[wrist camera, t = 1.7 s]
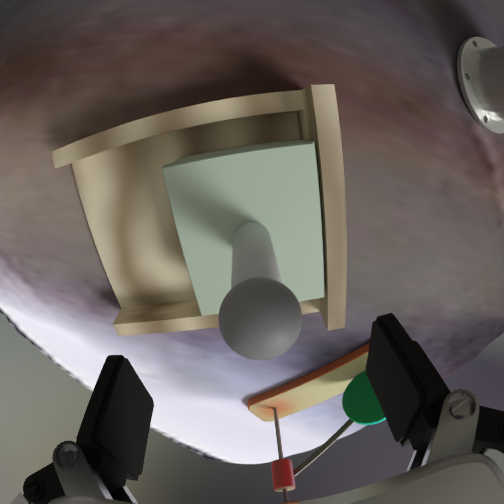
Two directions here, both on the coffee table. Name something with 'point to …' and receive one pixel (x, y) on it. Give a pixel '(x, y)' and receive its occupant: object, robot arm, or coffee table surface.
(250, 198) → the green joystick
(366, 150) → the coffee table surface
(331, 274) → the bay
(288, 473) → the crank mechanism
